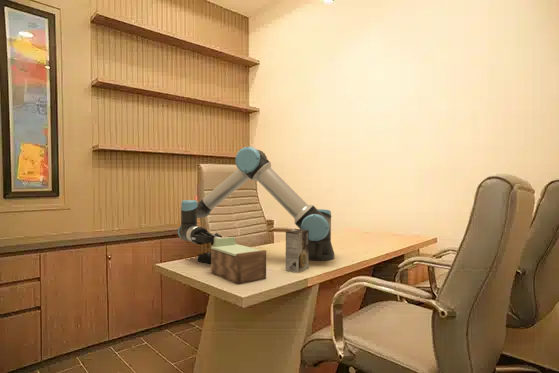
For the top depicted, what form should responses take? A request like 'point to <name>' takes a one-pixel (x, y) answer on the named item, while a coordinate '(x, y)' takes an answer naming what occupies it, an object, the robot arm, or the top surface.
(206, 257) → the portable cd player
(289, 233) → the coffee box
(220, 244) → the lid
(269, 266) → the top surface
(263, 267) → the box
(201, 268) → the top surface
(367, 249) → the top surface
